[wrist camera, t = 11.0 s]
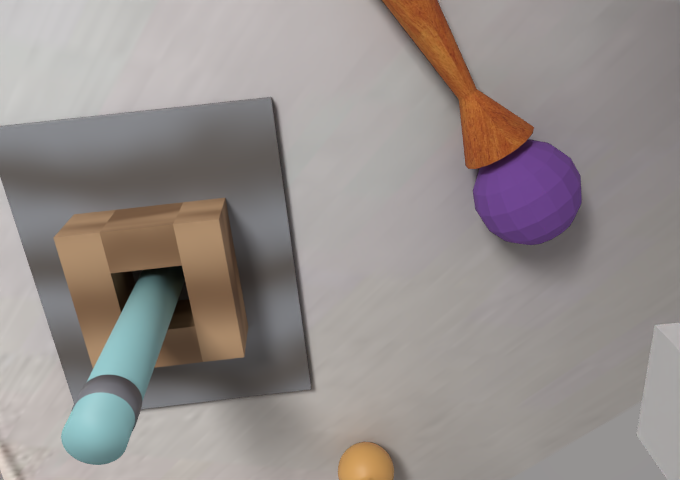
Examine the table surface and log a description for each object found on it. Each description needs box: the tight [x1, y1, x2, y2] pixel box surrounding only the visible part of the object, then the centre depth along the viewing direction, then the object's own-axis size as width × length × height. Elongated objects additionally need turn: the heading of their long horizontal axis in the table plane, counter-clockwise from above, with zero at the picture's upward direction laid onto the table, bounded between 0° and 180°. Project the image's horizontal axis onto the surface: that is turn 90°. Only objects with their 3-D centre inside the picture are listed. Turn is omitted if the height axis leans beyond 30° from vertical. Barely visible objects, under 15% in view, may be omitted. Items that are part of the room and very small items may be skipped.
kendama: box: [382, 0, 581, 245], centre depth 35 cm, size 6×6×20 cm
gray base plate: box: [0, 97, 311, 409], centre depth 38 cm, size 20×16×4 cm
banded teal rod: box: [61, 265, 185, 465], centre depth 33 cm, size 3×3×15 cm
